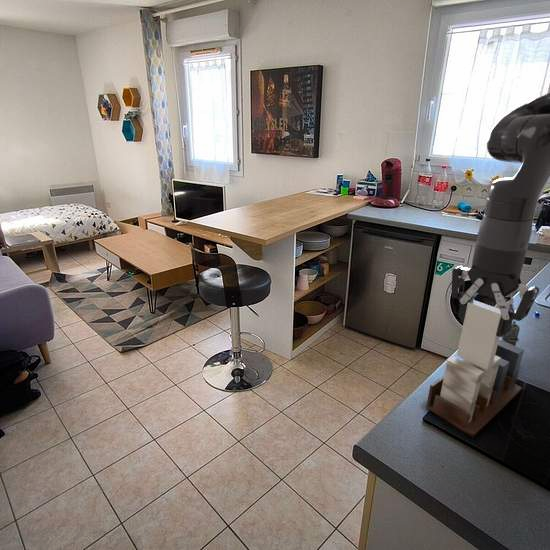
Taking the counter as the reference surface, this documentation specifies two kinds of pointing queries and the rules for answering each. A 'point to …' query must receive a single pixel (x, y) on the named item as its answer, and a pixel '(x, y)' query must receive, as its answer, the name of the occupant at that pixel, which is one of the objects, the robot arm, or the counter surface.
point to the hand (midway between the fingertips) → (481, 327)
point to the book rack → (476, 389)
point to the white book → (479, 334)
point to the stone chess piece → (512, 334)
